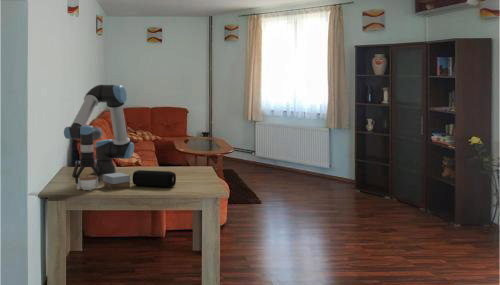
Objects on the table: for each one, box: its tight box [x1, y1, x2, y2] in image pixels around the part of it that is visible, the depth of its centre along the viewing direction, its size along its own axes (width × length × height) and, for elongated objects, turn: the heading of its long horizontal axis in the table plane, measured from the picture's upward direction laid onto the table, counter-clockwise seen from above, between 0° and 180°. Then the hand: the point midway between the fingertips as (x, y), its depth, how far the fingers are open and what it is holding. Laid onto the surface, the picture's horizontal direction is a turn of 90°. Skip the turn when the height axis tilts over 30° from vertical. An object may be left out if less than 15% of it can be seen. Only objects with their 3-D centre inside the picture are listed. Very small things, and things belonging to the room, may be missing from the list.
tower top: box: [102, 172, 131, 184], centre depth 357 cm, size 12×12×4 cm
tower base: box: [103, 181, 131, 190], centre depth 358 cm, size 12×12×4 cm
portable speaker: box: [131, 169, 177, 188], centre depth 360 cm, size 26×10×10 cm, turn 83°
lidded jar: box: [78, 173, 97, 191], centre depth 348 cm, size 11×11×9 cm
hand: (87, 187), depth 348 cm, fingers closed on lidded jar, 11 cm apart
